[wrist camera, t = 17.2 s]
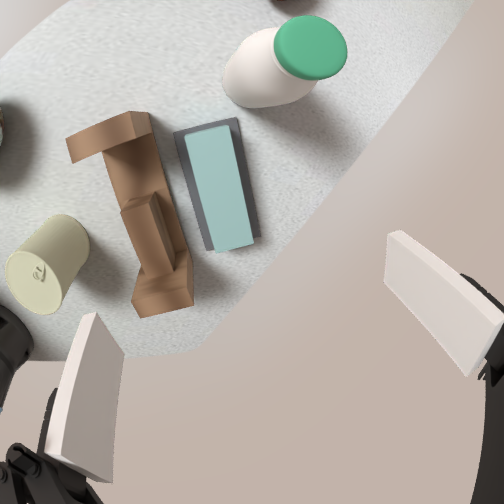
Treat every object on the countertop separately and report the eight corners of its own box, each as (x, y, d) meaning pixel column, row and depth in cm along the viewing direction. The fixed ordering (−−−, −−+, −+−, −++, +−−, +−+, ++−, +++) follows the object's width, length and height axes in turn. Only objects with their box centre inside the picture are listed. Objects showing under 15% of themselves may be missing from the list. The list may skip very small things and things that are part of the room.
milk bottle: (276, 113, 32) (361, 116, 15) (216, 104, 30) (242, 87, 13) (285, 60, 29) (374, 19, 12) (226, 49, 27) (263, -19, 10)
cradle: (149, 273, 40) (140, 318, 31) (98, 131, 29) (65, 138, 20) (192, 262, 40) (194, 305, 31) (148, 112, 29) (129, 111, 20)
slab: (213, 240, 38) (215, 253, 35) (185, 134, 31) (184, 136, 28) (248, 231, 39) (253, 243, 35) (225, 124, 31) (228, 125, 28)
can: (100, 240, 35) (72, 287, 25) (74, 279, 37) (48, 329, 27) (56, 201, 31) (13, 237, 21) (33, 245, 33) (-4, 287, 23)
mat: (206, 248, 40) (206, 250, 39) (173, 132, 31) (173, 132, 31) (259, 234, 40) (260, 236, 40) (235, 117, 32) (236, 117, 31)
